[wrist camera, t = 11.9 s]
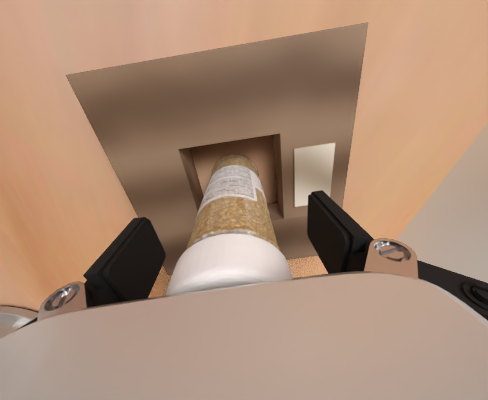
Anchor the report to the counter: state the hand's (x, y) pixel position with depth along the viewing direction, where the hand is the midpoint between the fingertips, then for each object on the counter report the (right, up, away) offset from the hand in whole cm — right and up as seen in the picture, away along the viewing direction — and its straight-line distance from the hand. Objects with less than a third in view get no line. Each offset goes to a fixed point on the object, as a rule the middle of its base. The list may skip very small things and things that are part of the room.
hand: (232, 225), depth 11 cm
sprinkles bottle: (0, +4, +7) cm, 8 cm away
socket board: (0, +4, +7) cm, 8 cm away
